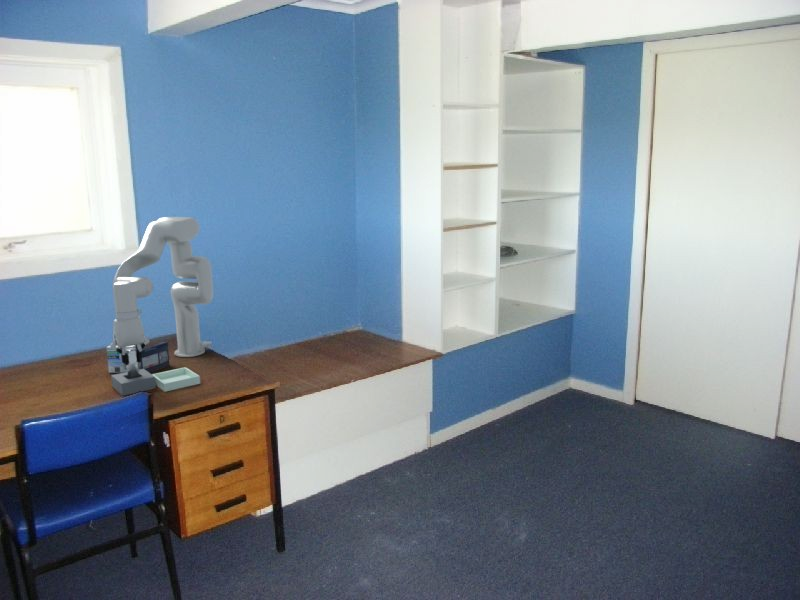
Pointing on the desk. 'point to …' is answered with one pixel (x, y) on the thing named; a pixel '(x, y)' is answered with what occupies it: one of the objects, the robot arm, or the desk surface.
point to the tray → (176, 379)
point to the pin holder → (133, 382)
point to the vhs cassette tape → (154, 357)
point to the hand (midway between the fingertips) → (132, 362)
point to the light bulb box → (116, 360)
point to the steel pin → (132, 362)
